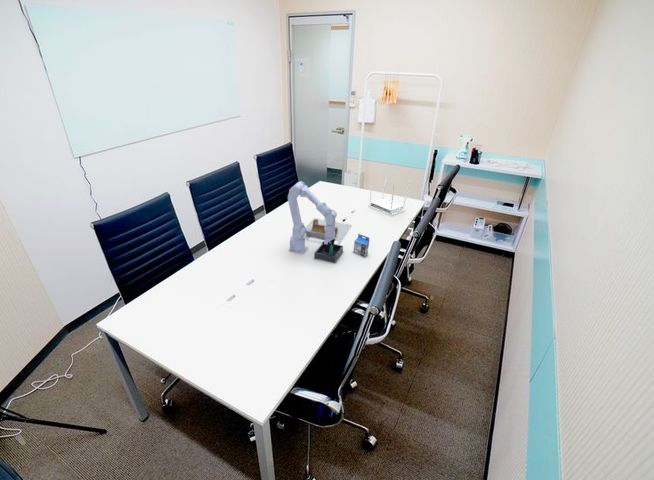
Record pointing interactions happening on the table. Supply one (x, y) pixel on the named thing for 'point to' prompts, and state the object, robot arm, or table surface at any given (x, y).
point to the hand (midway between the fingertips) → (329, 249)
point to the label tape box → (361, 245)
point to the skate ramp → (319, 227)
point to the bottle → (330, 251)
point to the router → (387, 203)
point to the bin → (322, 256)
